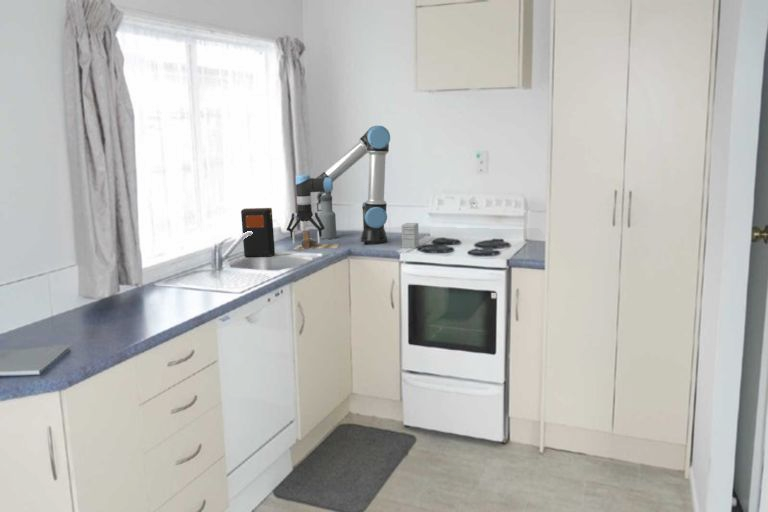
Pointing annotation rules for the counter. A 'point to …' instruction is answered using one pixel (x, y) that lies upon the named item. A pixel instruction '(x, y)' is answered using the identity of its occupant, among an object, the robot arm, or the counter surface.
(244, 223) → the voltmeter
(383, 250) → the counter surface
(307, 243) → the peg
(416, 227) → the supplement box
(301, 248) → the plywood panel
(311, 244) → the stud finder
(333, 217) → the water bottle
